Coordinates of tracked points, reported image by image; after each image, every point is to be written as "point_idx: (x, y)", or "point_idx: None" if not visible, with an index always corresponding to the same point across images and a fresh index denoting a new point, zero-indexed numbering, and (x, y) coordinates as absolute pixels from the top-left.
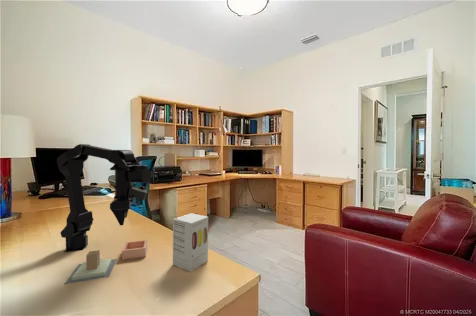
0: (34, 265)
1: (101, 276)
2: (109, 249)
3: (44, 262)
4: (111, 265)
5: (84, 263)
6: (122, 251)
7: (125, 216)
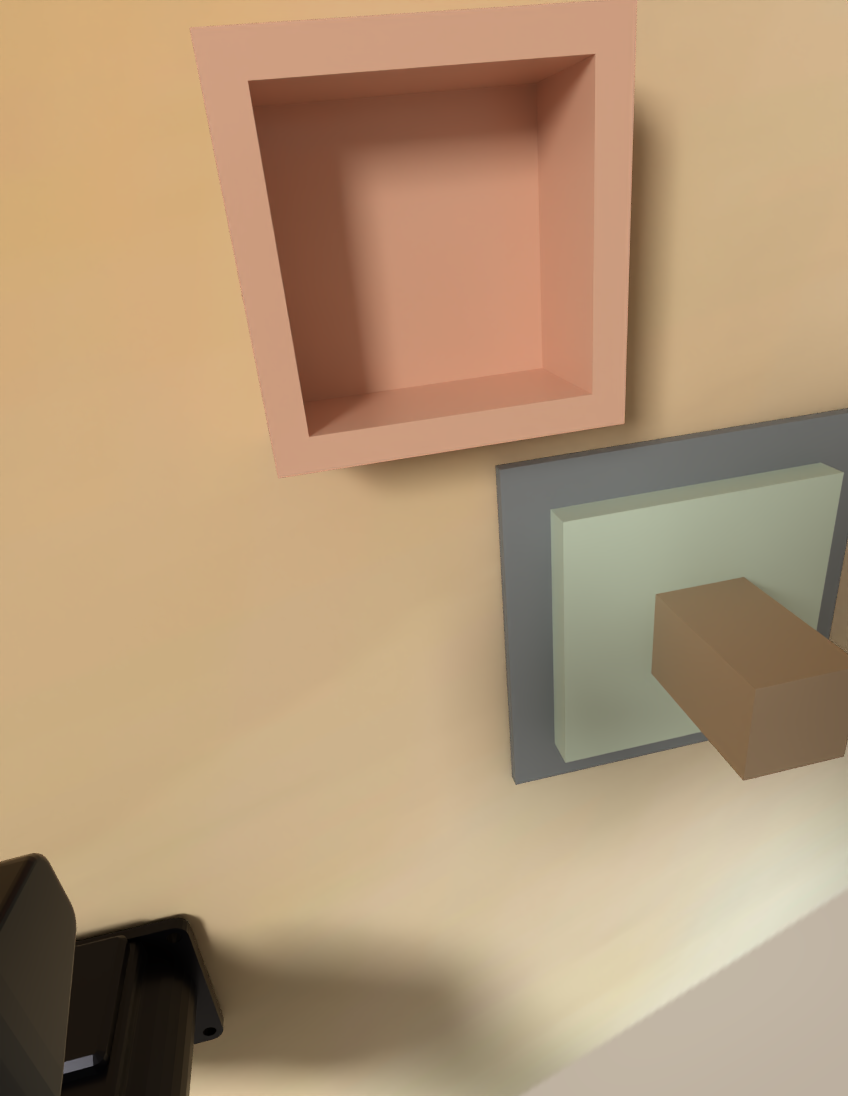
0: (423, 1051)
1: None
2: (167, 671)
3: (386, 1029)
4: (648, 473)
5: (587, 739)
6: (622, 413)
7: (35, 918)
